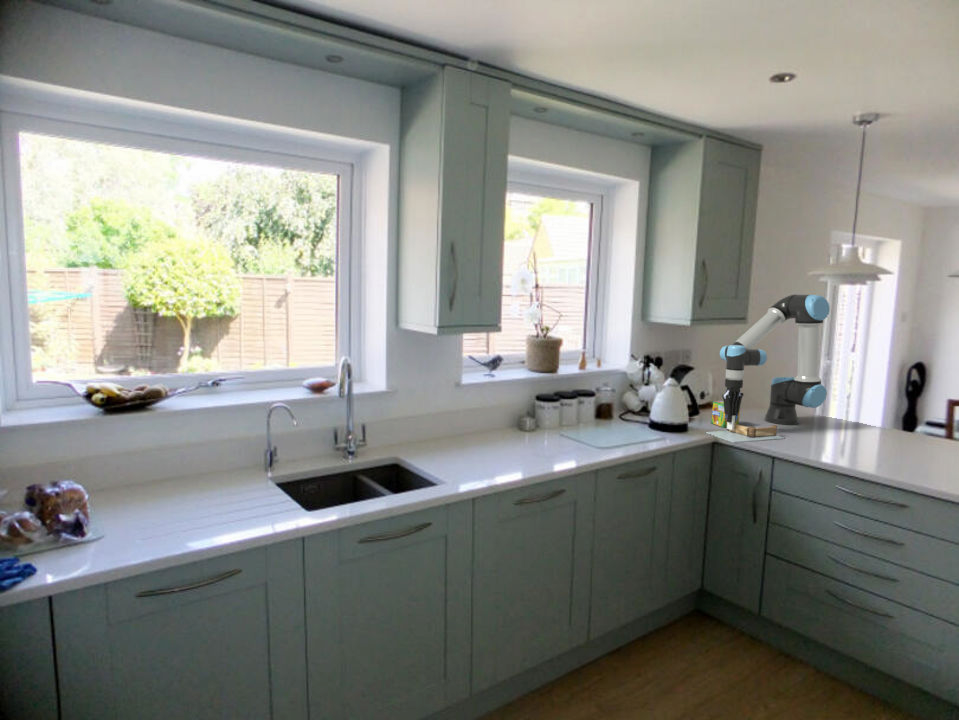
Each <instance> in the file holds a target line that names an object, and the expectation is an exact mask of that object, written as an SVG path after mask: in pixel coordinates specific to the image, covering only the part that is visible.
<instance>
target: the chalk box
mask: <svg viewBox="0 0 959 720" xmlns="http://www.w3.org/2000/svg"><path fill="white" fill-rule="evenodd" d="M740 409H741V408H740ZM740 409H739V413H738V415H737V416H736V415H735V424H738V425H739V421H740V412H741V411H740ZM727 417H728V415H726V414H725V413H724V401H723V400H713V402H712V413H711V420H710V421H711V422H710V424H712V425H714V426H718V427H721V428H723V429H725V428H727Z"/></svg>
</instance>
